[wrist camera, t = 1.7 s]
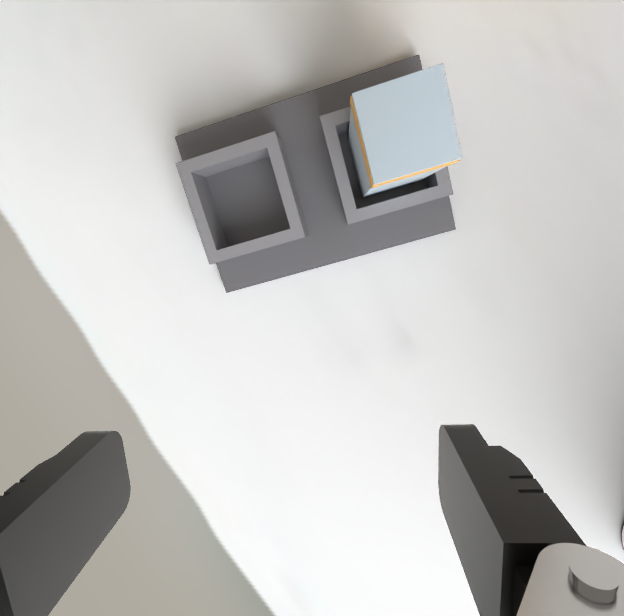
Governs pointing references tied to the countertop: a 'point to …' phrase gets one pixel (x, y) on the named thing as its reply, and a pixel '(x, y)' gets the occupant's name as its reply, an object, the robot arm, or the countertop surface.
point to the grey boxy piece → (299, 188)
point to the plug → (402, 131)
